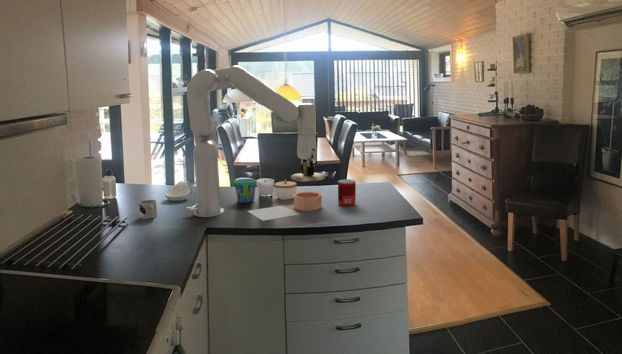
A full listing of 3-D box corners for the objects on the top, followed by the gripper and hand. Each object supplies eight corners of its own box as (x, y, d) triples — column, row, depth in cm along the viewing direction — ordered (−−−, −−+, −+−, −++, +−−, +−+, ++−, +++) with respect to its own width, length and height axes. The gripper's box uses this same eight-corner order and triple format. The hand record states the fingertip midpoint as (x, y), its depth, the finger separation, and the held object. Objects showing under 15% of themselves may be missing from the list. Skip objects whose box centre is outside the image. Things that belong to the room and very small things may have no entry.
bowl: (302, 213, 184) (302, 199, 183) (289, 207, 195) (289, 193, 193) (326, 209, 190) (326, 195, 189) (313, 203, 200) (312, 190, 199)
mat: (262, 221, 173) (262, 220, 173) (246, 212, 187) (246, 210, 187) (300, 215, 181) (300, 214, 181) (282, 206, 196) (282, 205, 195)
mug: (138, 216, 182) (137, 201, 181) (154, 214, 186) (153, 199, 185) (145, 222, 175) (144, 206, 173) (162, 219, 179) (161, 203, 177)
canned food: (358, 204, 198) (359, 180, 196) (347, 207, 192) (348, 183, 190) (345, 201, 203) (345, 178, 201) (334, 204, 197) (334, 181, 195)
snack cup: (236, 198, 213) (235, 177, 211) (258, 197, 213) (257, 177, 211) (232, 206, 197) (231, 184, 196) (256, 205, 198) (255, 183, 196)
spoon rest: (186, 203, 205) (185, 188, 204) (161, 203, 205) (160, 188, 204) (198, 191, 228) (197, 178, 227) (175, 192, 228) (174, 179, 227)
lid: (301, 182, 180) (301, 166, 178) (285, 177, 193) (284, 161, 191) (331, 178, 187) (331, 162, 186) (314, 173, 200) (313, 158, 199)
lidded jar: (298, 196, 214) (297, 178, 212) (295, 202, 203) (294, 182, 201) (276, 196, 215) (276, 178, 213) (272, 201, 204) (272, 182, 203)
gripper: (290, 131, 191) (291, 172, 195) (309, 134, 177) (310, 178, 181) (305, 130, 195) (306, 170, 199) (324, 133, 181) (325, 176, 184)
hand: (307, 174), depth 190 cm, fingers closed on lid, 4 cm apart
